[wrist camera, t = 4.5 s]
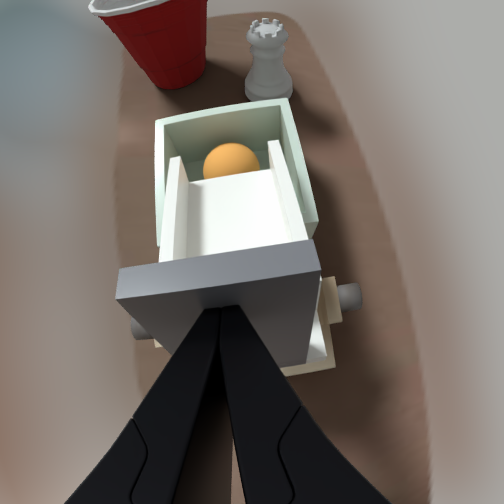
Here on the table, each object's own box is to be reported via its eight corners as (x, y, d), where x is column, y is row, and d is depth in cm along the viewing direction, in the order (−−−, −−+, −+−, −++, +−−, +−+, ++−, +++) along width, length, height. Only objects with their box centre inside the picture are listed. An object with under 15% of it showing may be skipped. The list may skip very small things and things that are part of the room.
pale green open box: (306, 249, 23) (318, 221, 17) (184, 267, 23) (157, 246, 17) (284, 145, 25) (287, 97, 19) (177, 162, 25) (155, 120, 19)
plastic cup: (233, 37, 29) (221, -51, 18) (225, 102, 27) (204, -6, 15) (143, 47, 30) (112, -29, 18) (119, 113, 27) (66, 27, 16)
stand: (334, 365, 21) (375, 386, 12) (191, 385, 21) (143, 415, 12) (317, 261, 22) (345, 217, 14) (178, 282, 23) (125, 251, 14)
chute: (325, 360, 12) (358, 263, 6) (178, 379, 12) (86, 302, 6) (280, 175, 18) (272, 66, 13) (181, 191, 19) (147, 89, 13)
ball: (225, 126, 22) (232, 167, 25) (185, 155, 20) (198, 196, 24) (269, 141, 20) (272, 184, 23) (229, 174, 19) (238, 218, 22)
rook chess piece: (302, 95, 26) (309, 29, 19) (264, 117, 26) (261, 49, 18) (272, 70, 27) (270, 7, 20) (235, 90, 27) (225, 25, 19)
